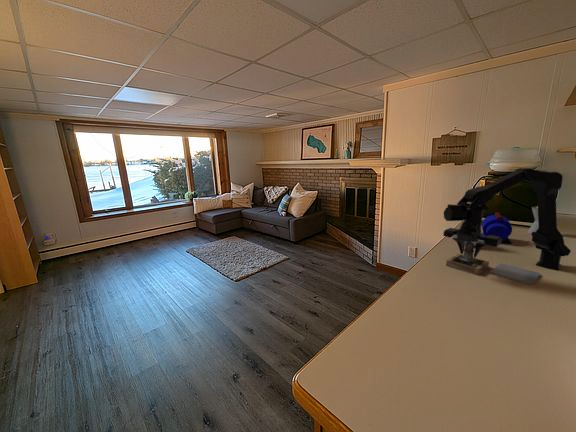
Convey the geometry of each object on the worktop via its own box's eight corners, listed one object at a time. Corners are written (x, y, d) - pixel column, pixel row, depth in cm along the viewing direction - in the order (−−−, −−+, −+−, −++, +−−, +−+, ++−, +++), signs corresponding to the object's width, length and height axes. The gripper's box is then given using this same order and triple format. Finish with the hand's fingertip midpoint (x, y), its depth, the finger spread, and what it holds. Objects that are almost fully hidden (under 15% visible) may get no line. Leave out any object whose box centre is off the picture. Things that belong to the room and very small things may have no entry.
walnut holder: (457, 258, 110) (458, 253, 109) (488, 267, 101) (489, 261, 100) (446, 265, 104) (446, 260, 103) (477, 275, 95) (478, 269, 94)
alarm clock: (507, 238, 132) (511, 212, 129) (512, 245, 122) (517, 217, 119) (479, 235, 139) (483, 210, 135) (482, 242, 129) (486, 215, 125)
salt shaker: (478, 269, 99) (482, 242, 96) (462, 269, 100) (465, 242, 97) (470, 263, 105) (474, 238, 102) (455, 263, 106) (458, 237, 103)
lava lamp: (523, 230, 143) (533, 171, 135) (541, 231, 141) (552, 171, 133) (534, 235, 134) (547, 172, 126) (554, 235, 132) (567, 172, 124)
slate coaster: (500, 264, 102) (500, 263, 102) (540, 275, 92) (540, 273, 92) (490, 273, 96) (490, 271, 96) (531, 284, 86) (531, 282, 86)
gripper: (438, 219, 101) (435, 254, 105) (494, 228, 86) (488, 268, 89) (451, 215, 107) (447, 248, 110) (505, 223, 92) (498, 260, 95)
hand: (468, 255), depth 101 cm, fingers open, 4 cm apart
